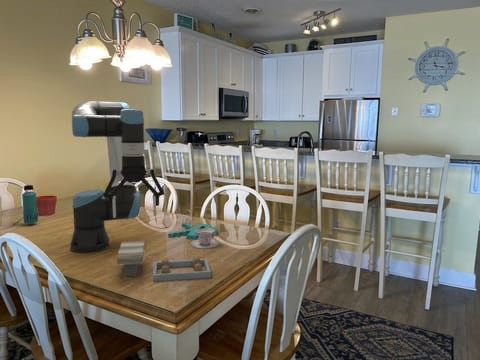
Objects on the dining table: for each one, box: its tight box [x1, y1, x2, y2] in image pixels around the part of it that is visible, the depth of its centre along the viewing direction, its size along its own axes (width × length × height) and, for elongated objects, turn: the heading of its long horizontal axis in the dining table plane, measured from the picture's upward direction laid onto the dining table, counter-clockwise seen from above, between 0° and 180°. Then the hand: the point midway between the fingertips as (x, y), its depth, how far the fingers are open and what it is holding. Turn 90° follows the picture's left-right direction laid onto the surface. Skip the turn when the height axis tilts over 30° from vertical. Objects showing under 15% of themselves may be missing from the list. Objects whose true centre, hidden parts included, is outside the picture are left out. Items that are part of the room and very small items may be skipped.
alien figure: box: [167, 221, 219, 241], centre depth 174 cm, size 20×2×20 cm
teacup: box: [190, 228, 219, 250], centre depth 158 cm, size 12×12×6 cm
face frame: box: [152, 256, 212, 282], centre depth 128 cm, size 19×12×4 cm, turn 102°
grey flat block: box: [116, 240, 146, 266], centre depth 128 cm, size 15×8×3 cm, turn 12°
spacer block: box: [123, 264, 140, 277], centre depth 129 cm, size 4×11×5 cm, turn 12°
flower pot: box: [36, 194, 58, 216], centre depth 204 cm, size 11×11×10 cm
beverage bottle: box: [21, 184, 39, 224], centre depth 182 cm, size 6×7×20 cm
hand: (135, 215), depth 128 cm, fingers open, 13 cm apart
